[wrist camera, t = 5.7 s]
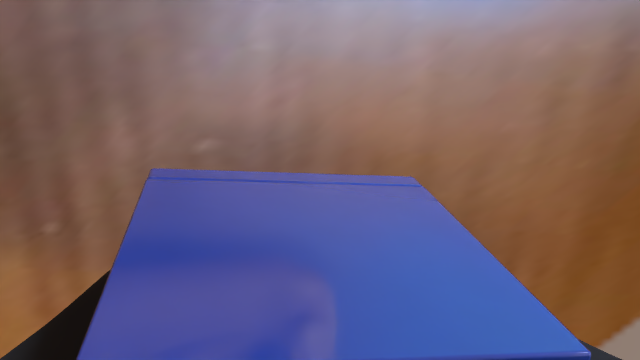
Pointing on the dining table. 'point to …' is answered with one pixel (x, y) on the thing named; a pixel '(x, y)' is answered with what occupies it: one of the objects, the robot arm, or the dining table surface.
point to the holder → (310, 276)
